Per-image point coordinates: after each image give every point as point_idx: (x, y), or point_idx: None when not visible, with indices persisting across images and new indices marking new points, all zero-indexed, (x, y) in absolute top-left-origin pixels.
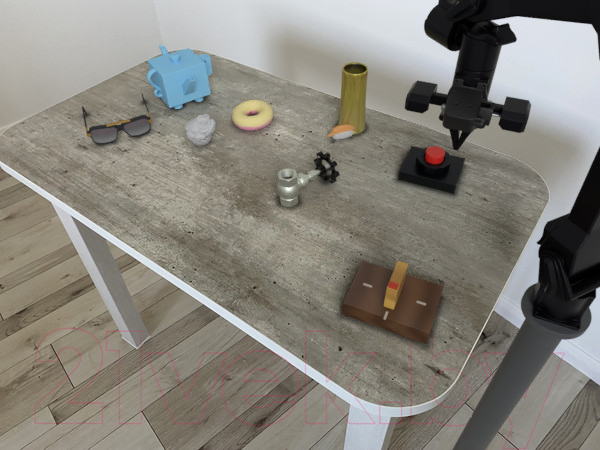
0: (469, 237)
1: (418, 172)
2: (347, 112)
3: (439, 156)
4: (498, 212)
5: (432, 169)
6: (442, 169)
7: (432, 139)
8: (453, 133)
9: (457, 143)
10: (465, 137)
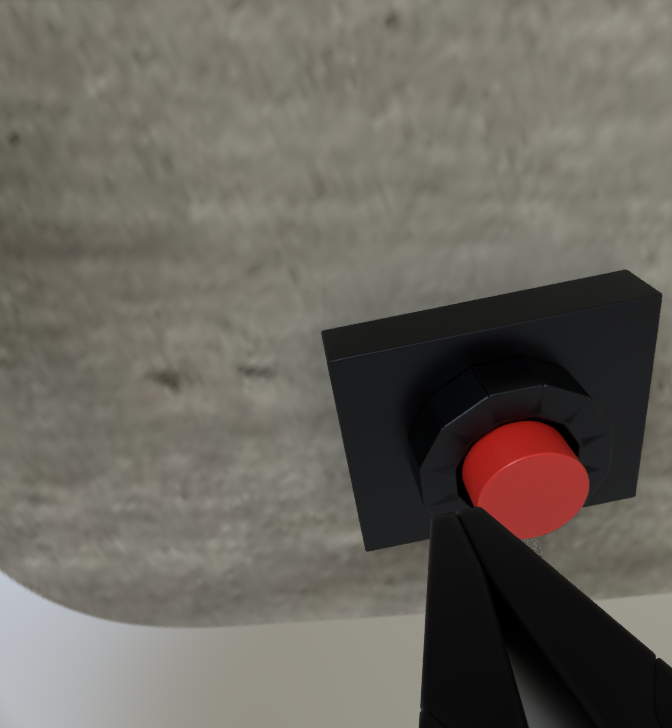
0: (69, 25)
1: (555, 343)
2: None
3: (501, 476)
4: (59, 332)
5: (496, 385)
6: (443, 415)
7: None
8: (643, 698)
9: (483, 581)
10: (442, 712)
